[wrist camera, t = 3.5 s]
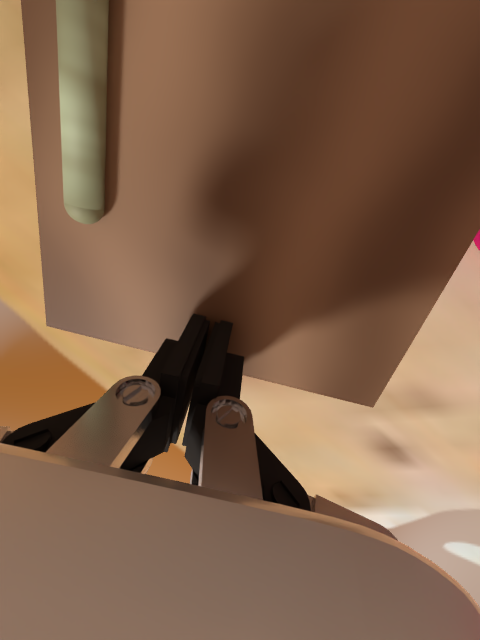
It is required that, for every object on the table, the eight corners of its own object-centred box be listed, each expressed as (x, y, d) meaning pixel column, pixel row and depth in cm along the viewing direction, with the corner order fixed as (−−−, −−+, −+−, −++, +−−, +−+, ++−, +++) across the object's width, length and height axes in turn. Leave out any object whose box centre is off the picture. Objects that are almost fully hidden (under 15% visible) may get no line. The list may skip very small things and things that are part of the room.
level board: (705, -239, 6) (980, -512, 4) (361, 386, 13) (381, 424, 11) (40, -455, 6) (-113, -903, 3) (69, 312, 13) (28, 336, 11)
